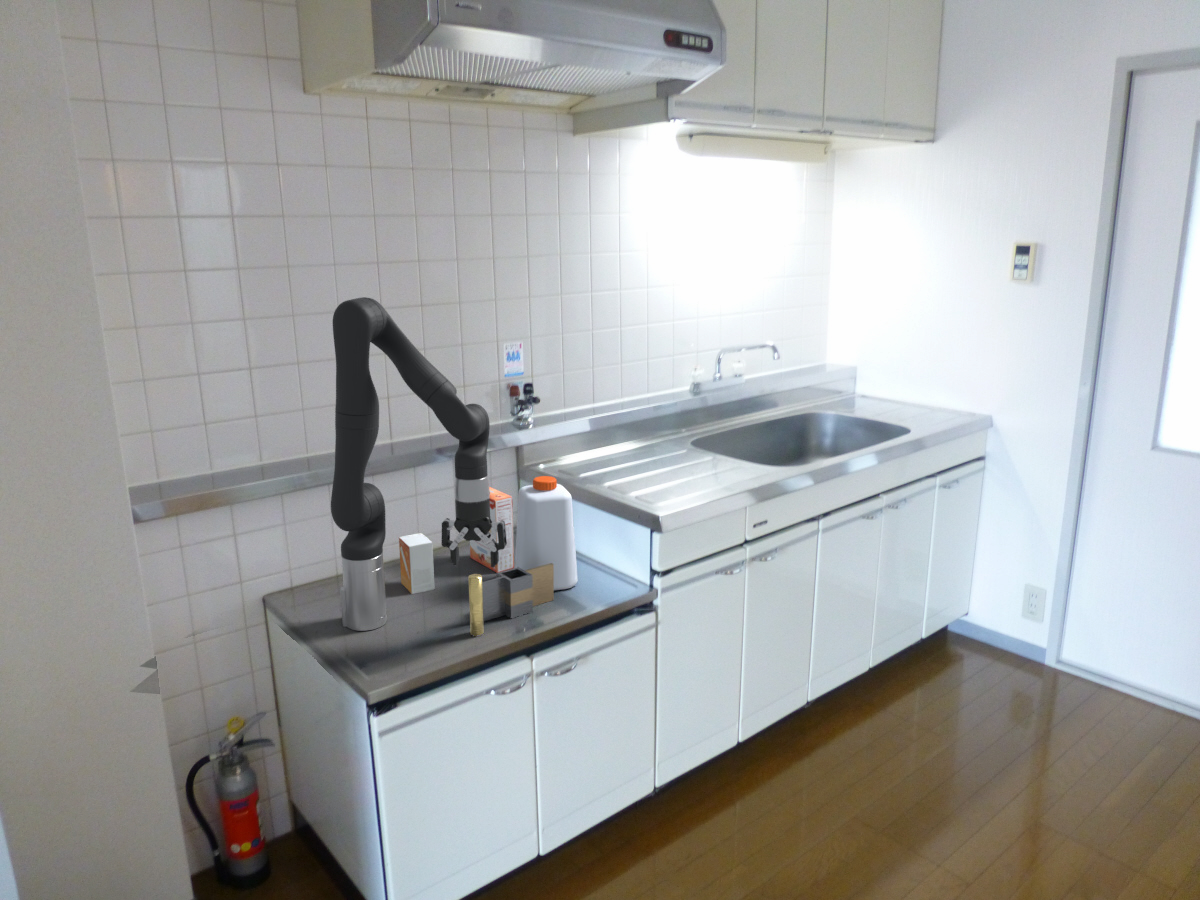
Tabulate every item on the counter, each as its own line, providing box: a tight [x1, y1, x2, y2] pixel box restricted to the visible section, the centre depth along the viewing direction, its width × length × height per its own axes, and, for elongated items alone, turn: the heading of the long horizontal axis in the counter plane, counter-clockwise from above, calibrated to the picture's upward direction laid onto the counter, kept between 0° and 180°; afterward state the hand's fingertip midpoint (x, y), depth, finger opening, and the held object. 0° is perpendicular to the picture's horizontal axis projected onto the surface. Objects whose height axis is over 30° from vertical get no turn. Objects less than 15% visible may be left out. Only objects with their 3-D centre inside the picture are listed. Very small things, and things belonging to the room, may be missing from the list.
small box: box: [398, 532, 435, 595], centre depth 222 cm, size 8×6×13 cm
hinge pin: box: [468, 573, 485, 637], centre depth 197 cm, size 3×3×14 cm
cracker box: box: [469, 486, 515, 574], centre depth 237 cm, size 14×6×21 cm, turn 39°
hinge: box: [482, 563, 555, 623], centre depth 209 cm, size 22×6×10 cm, turn 128°
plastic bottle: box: [514, 475, 579, 591], centre depth 224 cm, size 15×15×28 cm
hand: (475, 565), depth 194 cm, fingers open, 8 cm apart
